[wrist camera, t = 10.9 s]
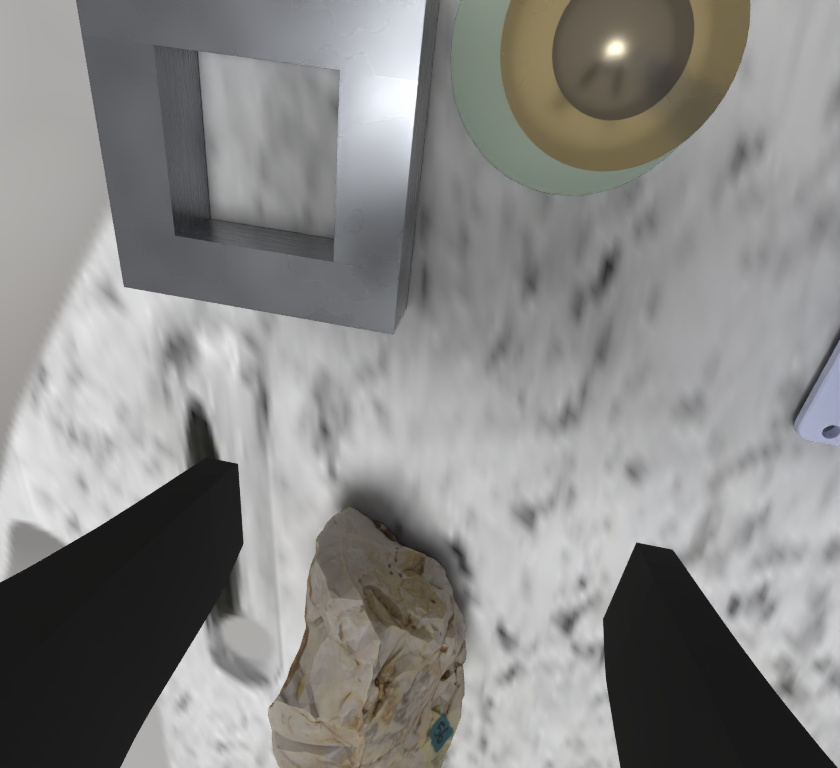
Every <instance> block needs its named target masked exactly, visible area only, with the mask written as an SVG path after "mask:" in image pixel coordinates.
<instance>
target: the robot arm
mask: <svg viewBox="0 0 840 768" xmlns="http://www.w3.org/2000/svg"><path fill="white" fill-rule="evenodd" d="M830 425H834V427H833V428H832V429H831V430H829V431H827V432H822V431H823V430H824V429H825V428H826V427H828V426H830ZM794 428H795V431H796V432H797V433H798V435H799V436H800V437H801V438H802V439H805V440H808V441H813V442H819V443H824V444H830V445H835V446H840V340H839V342H838V344H837V346H836V348H835V349H834V351H833V353H832V355H831V357H830V358H829V360H828V362H827V364H826V366H825V367H824V369H823V371H822V373H821V375H820V376H819V378H818V380H817V382H816V384H815V386H814V387H813V389H812V391H811V393H810V395H809V396H808V398H807V400H806V402H805V404H804V405H803V407H802V409H801V411H800V413H799V414H798V416H797V418H796V420H795V423H794ZM242 546H243V530H242V516H241V501H240V486H239V472H238V464H236V463H231V462H226V461H221V460H216V459H211V458H205V459H204V460H202V461H200V462H199V463H197V464H196V465H194V466H192V467H191V468H189V469H188V470H186V471H185V472H183V473H182V474H180V475H179V476H177V477H176V478H174V479H173V480H171V481H169V482H168V483H166V484H165V485H163V486H162V487H160V488H159V489H157V490H156V491H154V492H153V493H151V494H150V495H148V496H146V497H145V498H143V499H142V500H140V501H139V502H137V503H136V504H134V505H132V506H131V507H129V508H128V509H126V510H125V511H123V512H121V513H120V514H118V515H117V516H115V517H113V518H112V519H110V520H109V521H107V522H106V523H104V524H102V525H101V526H99V527H98V528H96V529H94V530H93V531H91V532H89V533H87V534H86V535H84V536H82V537H80V538H79V539H77V540H75V541H74V542H72V543H70V544H68V545H67V546H65V547H63V548H62V549H60V550H58V551H56V552H55V553H53V554H51V555H50V556H48V557H46V558H44V559H43V560H41V561H39V562H37V563H36V564H34V565H32V566H30V567H29V568H27V569H25V570H23V571H21V572H20V573H17V574H16V575H14V576H12V577H10V578H8V579H6V580H4V581H2V582H0V768H120V767H121V765H122V763H123V761H124V759H125V757H126V754H127V753H128V751H129V749H130V747H131V745H132V743H133V741H134V739H135V737H136V735H137V733H138V732H139V730H140V728H141V726H142V724H143V723H144V721H145V719H146V717H147V716H148V714H149V712H150V710H151V709H152V707H153V705H154V704H155V702H156V701H157V699H158V697H159V696H160V694H161V692H162V691H163V689H164V687H165V686H166V684H167V682H168V681H169V679H170V678H171V676H172V674H173V673H174V671H175V669H176V668H177V666H178V664H179V663H180V661H181V659H182V658H183V656H184V655H185V653H186V651H187V650H188V648H189V646H190V645H191V643H192V641H193V640H194V638H195V636H196V635H197V633H198V631H199V630H200V628H201V626H202V625H203V623H204V621H205V620H206V618H207V616H208V615H209V613H210V611H211V610H212V608H213V606H214V605H215V603H216V601H217V600H218V598H219V596H220V594H221V592H222V590H223V588H224V586H225V584H226V582H227V580H228V577H229V575H230V573H231V571H232V569H233V566H234V564H235V562H236V560H237V557H238V555H239V553H240V550H241V548H242ZM603 627H604V653H605V670H606V682H607V688H608V695H609V701H610V707H611V713H612V719H613V726H614V732H615V738H616V744H617V749H618V755H619V761H620V767H621V768H837V767H836V765H835V764H834V763H833V762H832V761H831V760H830V758H829V757H828V756H827V755H826V754H825V753H824V751H823V750H822V749H821V748H820V747H819V745H818V744H817V743H816V742H815V740H814V739H813V738H812V737H811V736H810V734H809V733H808V732H807V731H806V729H805V728H804V727H803V726H802V724H801V723H800V722H799V721H798V720H797V718H796V717H795V716H794V715H793V713H792V712H791V711H790V710H789V708H788V707H787V706H786V705H785V704H784V702H783V701H782V700H781V698H780V697H779V696H778V695H777V693H776V692H775V691H774V689H773V688H772V687H771V686H770V684H769V683H768V682H767V680H766V679H765V678H764V676H763V675H762V674H761V672H760V671H759V670H758V668H757V667H756V666H755V665H754V663H753V662H752V660H751V659H750V658H749V656H748V655H747V654H746V652H745V651H744V650H743V648H742V647H741V646H740V644H739V643H738V642H737V640H736V639H735V637H734V636H733V635H732V633H731V632H730V630H729V629H728V628H727V626H726V625H725V624H724V622H723V621H722V619H721V618H720V616H719V615H718V614H717V612H716V611H715V609H714V608H713V607H712V605H711V604H710V602H709V601H708V599H707V598H706V597H705V595H704V594H703V592H702V591H701V589H700V588H699V587H698V585H697V584H696V582H695V581H694V579H693V578H692V577H691V575H690V574H689V572H688V571H687V569H686V568H685V566H684V565H683V564H682V562H681V561H680V559H679V558H678V557H677V555H676V554H675V552H674V551H673V550H671V549H666V548H661V547H656V546H651V545H646V544H641V543H636V545H635V547H634V549H633V552H632V554H631V556H630V559H629V561H628V563H627V566H626V568H625V570H624V572H623V575H622V577H621V579H620V582H619V584H618V586H617V589H616V591H615V593H614V595H613V598H612V600H611V602H610V605H609V607H608V609H607V612H606V614H605V616H604V618H603Z"/></svg>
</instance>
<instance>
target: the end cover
mask: <svg viewBox="0 0 840 768" xmlns="http://www.w3.org/2000/svg"><path fill="white" fill-rule="evenodd" d="M749 22H750V0H511V1H510V4H509V7H508V10H507V13H506V17H505V21H504V26H503V31H502V38H501V48H500V67H501V75H502V83H503V87H504V91H505V95H506V99H507V101H508V104H509V106H510V109H511V112H512V114H513V116H514V117H515V119H516V121H517V123H518V125H519V126H520V128H521V129H522V130H523V132H524V133H525V134H526V136H527V137H528V138H529V139H530V140H531V141H532V142H533V143H534V144H535V145H536V146H537V147H538V148H539V149H540V150H542V151H543V152H544V153H546V154H547V155H548V156H550V157H552V158H553V159H555V160H557V161H559V162H561V163H563V164H566V165H569V166H571V167H574V168H578V169H583V170H588V171H600V172H605V171H618V170H624V169H629V168H633V167H636V166H640V165H643V164H646V163H648V162H650V161H653V160H655V159H657V158H659V157H661V156H663V155H665V154H666V153H668V152H670V151H671V150H673V149H675V148H676V147H677V146H679V145H680V144H681V143H683V142H684V141H685V140H687V139H688V138H689V137H690V136H691V135H692V134H694V133H695V132H696V131H697V130H698V129H699V128H700V127H701V126H702V125H703V124H704V123H705V121H706V120H707V119H708V118H709V117H710V116H711V114H712V113H713V112H714V111H715V109H716V108H717V106H718V105H719V103H720V102H721V101H722V99H723V98H724V96H725V94H726V93H727V91H728V89H729V87H730V85H731V83H732V82H733V80H734V77H735V75H736V72H737V70H738V68H739V65H740V63H741V60H742V56H743V53H744V49H745V46H746V42H747V36H748V30H749Z"/></svg>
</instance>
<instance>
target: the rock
mask: <svg viewBox="0 0 840 768" xmlns="http://www.w3.org/2000/svg"><path fill="white" fill-rule="evenodd" d="M305 622H306V630H305V633H304V636H303V639H302V643H301V646H300V649H299V651H298V653H297V655H296V657H295V659H294V661H293V663H292V665H291V667H290V671H289V674H288V677H287V680H286V682H285V683H284V685H283V687H282V689H281V692H280V694H279V695H278V697H277V698H276V700H275V701H274V702H273V703H272V705H271V706H270V707H269V709H268V717H269V721H270V725H271V729H272V744H273V753H274V756H275V759H276V761H277V764H278V765H279V767H280V768H441V767H442V764H443V761H444V758H445V754H446V752H447V750H448V748H449V746H450V744H451V741H452V738H453V736H454V734H455V731H456V729H457V726H458V723H459V721H460V718H461V708H462V699H463V697H464V671H463V665H462V664H463V663H464V662H465V660H466V647H465V644H466V643H465V640H464V639H465V631H466V628H467V625H466V624H465V622H464V615H463V614H462V613H461V612H460V610H459V608H458V605H457V603H456V602H455V601H454V599H453V589H452V587H451V584H450V582H449V580H448V579H447V577H446V571H445V570H444V569H443V567H442V566H441V565H440V564H439V563H438V562H437V561H436V560H435V559H433V558H430V557H428V556H426V555H425V554H423V553H420V552H417V551H415V550H413V549H411V548H408V547H403V546H402V545H401V544H400V543H398V542H397V539H396V537H395V536H394V535H393V534H392V533H391V531H390V530H389V529H388V528H387V527H386V526H385V525H384V524H382V523H379V522H377V521H374V520H371V519H370V518H368V517H367V516H365V515H362V514H361V513H360V512H359V511H357V510H356V509H354V508H351V507H348V508H346V509H345V510H343V511H341V512H340V513H338V514H336V515H335V516H333V517H332V518H331V519H330V520H329V521H328V522H327V524H326V526H325V528H324V529H323V531H322V532H321V533H320V534H319V536H318V537H317V539H316V554H315V556H314V559H313V561H312V564H311V567H310V571H309V576H308V581H307V594H306V607H305Z"/></svg>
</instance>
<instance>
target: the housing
mask: <svg viewBox="0 0 840 768" xmlns="http://www.w3.org/2000/svg"><path fill="white" fill-rule="evenodd" d="M76 2H77V8H78V14H79V20H80V26H81V32H82V38H83V44H84V50H85V56H86V62H87V68H88V74H89V80H90V86H91V92H92V98H93V104H94V109H95V115H96V122H97V128H98V133H99V140H100V146H101V152H102V158H103V163H104V169H105V176H106V182H107V188H108V194H109V200H110V206H111V212H112V218H113V224H114V230H115V236H116V242H117V248H118V254H119V260H120V266H121V272H122V278H123V284H124V287H128V288H134V289H139V290H145V291H150V292H156V293H162V294H167V295H173V296H179V297H184V298H190V299H196V300H201V301H207V302H213V303H218V304H224V305H230V306H235V307H241V308H247V309H252V310H258V311H264V312H269V313H275V314H281V315H286V316H292V317H297V318H303V319H309V320H314V321H320V322H326V323H331V324H337V325H343V326H348V327H354V328H360V329H365V330H371V331H377V332H382V333H388V334H394V332H395V330H396V328H397V326H398V324H399V322H400V320H401V318H402V316H403V314H404V312H405V310H406V308H407V298H408V289H409V280H410V271H411V261H412V252H413V243H414V234H415V224H416V215H417V206H418V196H419V187H420V178H421V169H422V159H423V150H424V141H425V132H426V122H427V113H428V104H429V94H430V85H431V76H432V67H433V57H434V48H435V39H436V30H437V20H438V11H439V2H440V0H76ZM197 51H202V52H210V53H217V54H225V55H232V56H239V57H247V58H254V59H262V60H269V61H276V62H284V63H291V64H298V65H306V66H313V67H321V68H328V69H335V70H340V85H339V114H338V143H337V172H336V202H335V231H334V239H330V238H324V237H318V236H312V235H306V234H299V233H293V232H287V231H281V230H275V229H269V228H263V227H256V226H250V225H244V224H238V223H232V222H226V221H220V220H214V219H210V209H209V197H208V184H207V171H206V158H205V146H204V133H203V120H202V108H201V95H200V82H199V70H198V57H197Z"/></svg>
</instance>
